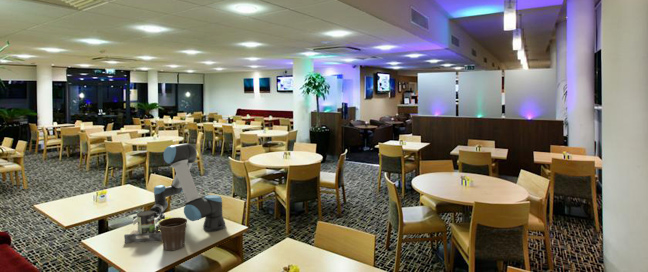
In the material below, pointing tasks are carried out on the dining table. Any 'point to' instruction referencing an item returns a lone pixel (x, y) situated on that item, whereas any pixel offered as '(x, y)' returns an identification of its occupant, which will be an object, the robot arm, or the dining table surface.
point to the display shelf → (143, 237)
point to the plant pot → (173, 233)
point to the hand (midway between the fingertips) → (144, 222)
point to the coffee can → (146, 222)
